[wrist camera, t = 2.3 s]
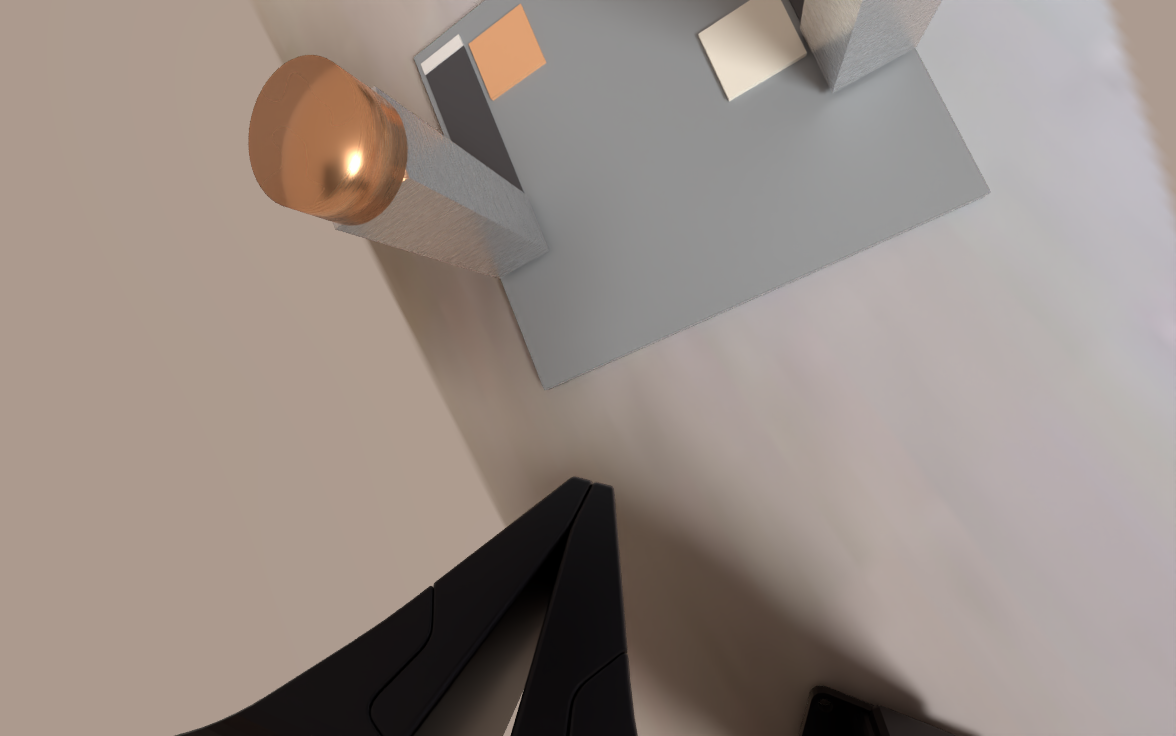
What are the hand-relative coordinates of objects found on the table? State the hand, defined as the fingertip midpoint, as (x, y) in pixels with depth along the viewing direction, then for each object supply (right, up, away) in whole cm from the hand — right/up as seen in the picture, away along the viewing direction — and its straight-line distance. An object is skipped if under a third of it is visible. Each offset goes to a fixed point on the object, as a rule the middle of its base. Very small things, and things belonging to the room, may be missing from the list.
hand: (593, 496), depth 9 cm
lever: (-3, +9, +12) cm, 15 cm away
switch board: (+3, +13, +11) cm, 17 cm away
